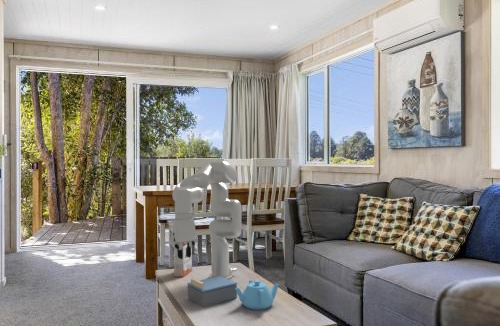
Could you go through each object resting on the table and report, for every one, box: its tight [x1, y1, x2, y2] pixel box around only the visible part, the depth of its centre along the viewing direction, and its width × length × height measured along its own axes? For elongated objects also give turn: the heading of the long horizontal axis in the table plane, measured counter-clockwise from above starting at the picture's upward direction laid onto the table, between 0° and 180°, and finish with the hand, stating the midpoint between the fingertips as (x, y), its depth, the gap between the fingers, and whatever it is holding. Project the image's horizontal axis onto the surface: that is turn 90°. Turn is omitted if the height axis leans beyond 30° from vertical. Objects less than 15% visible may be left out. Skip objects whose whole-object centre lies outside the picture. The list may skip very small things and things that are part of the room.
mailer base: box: [187, 284, 238, 308], centre depth 193 cm, size 18×14×6 cm
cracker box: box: [173, 242, 193, 278], centre depth 235 cm, size 14×6×21 cm, turn 168°
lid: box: [187, 276, 238, 292], centre depth 193 cm, size 18×14×3 cm
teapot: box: [235, 279, 280, 311], centre depth 183 cm, size 15×15×11 cm
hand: (184, 257), depth 184 cm, fingers open, 3 cm apart
